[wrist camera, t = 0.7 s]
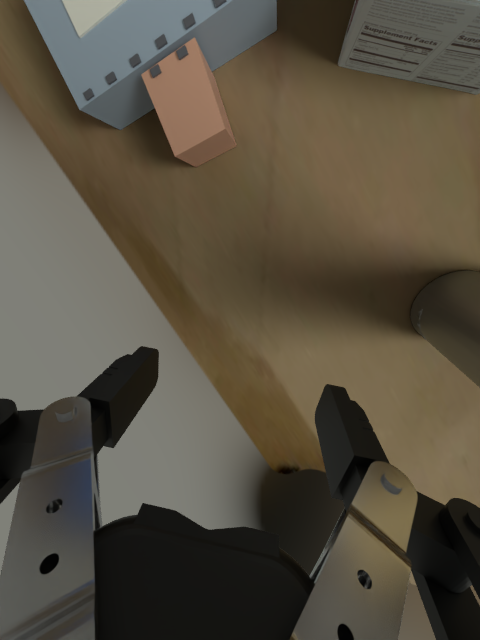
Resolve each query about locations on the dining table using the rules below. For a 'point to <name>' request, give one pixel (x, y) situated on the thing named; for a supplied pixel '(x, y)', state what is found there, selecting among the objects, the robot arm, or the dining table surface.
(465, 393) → the dining table surface
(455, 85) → the supplement box
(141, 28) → the block
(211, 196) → the dining table surface
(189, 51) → the stub
